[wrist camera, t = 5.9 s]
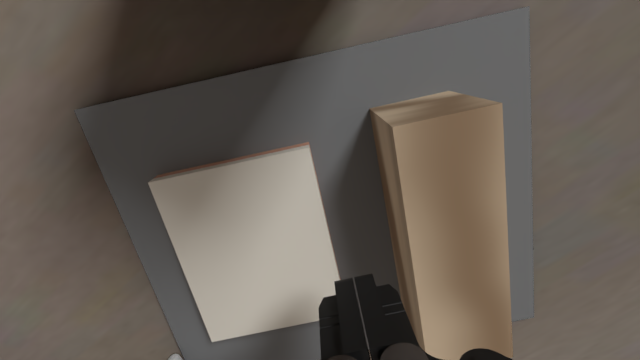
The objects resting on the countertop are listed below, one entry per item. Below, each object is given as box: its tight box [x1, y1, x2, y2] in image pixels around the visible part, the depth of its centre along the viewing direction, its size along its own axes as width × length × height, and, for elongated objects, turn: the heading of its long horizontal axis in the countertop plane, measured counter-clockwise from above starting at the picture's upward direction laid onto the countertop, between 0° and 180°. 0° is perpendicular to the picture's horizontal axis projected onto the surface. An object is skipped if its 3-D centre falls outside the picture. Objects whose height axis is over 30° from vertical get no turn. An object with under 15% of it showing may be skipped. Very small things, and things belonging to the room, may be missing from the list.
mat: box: [74, 6, 534, 360], centre depth 20 cm, size 22×18×1 cm
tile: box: [148, 142, 341, 342], centre depth 19 cm, size 4×10×8 cm
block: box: [369, 91, 513, 360], centre depth 17 cm, size 4×12×5 cm, turn 12°
